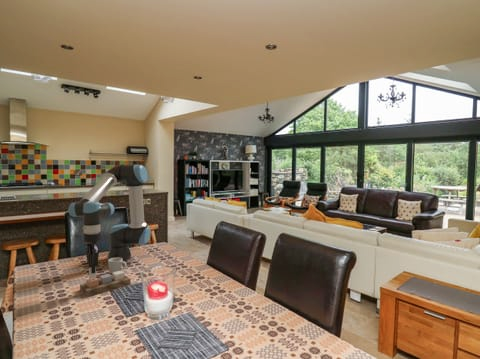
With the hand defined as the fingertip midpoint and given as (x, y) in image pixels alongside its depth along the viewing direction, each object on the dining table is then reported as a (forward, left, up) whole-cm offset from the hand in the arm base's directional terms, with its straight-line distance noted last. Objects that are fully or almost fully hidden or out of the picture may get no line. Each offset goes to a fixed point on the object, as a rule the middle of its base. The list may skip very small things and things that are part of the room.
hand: (92, 278), depth 144 cm
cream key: (-13, 0, -5) cm, 14 cm away
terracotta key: (0, 0, -5) cm, 5 cm away
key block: (-7, 0, -6) cm, 9 cm away
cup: (-20, -16, -7) cm, 26 cm away
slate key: (-7, 0, -5) cm, 8 cm away
